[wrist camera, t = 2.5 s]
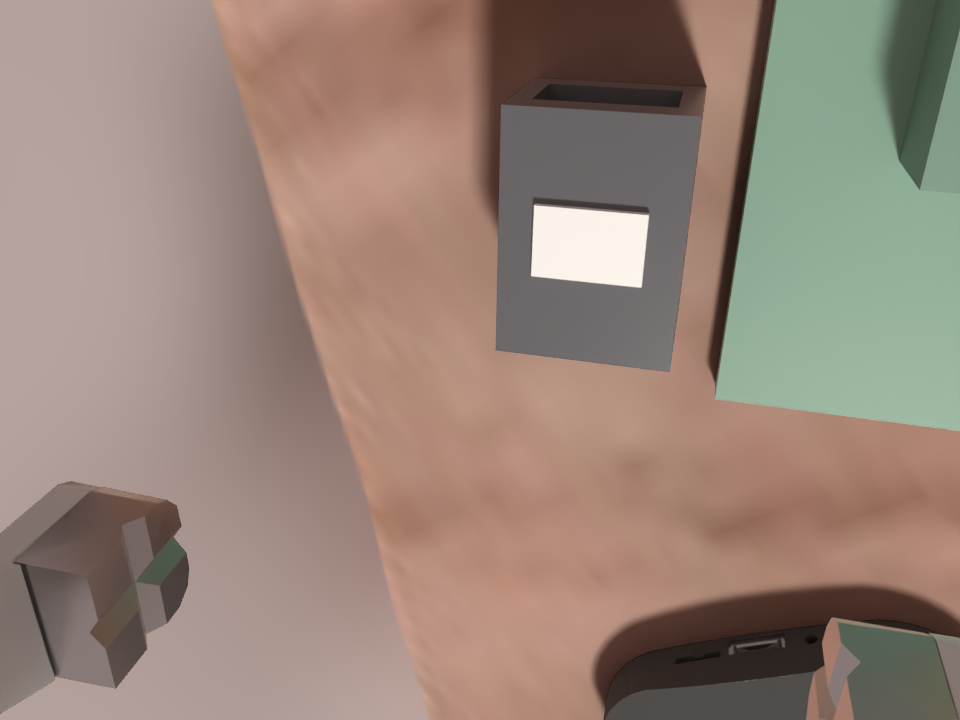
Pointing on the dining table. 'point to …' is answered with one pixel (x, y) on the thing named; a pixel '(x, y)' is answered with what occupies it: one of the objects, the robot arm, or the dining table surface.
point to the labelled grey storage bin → (595, 218)
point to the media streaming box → (725, 678)
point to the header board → (852, 217)
